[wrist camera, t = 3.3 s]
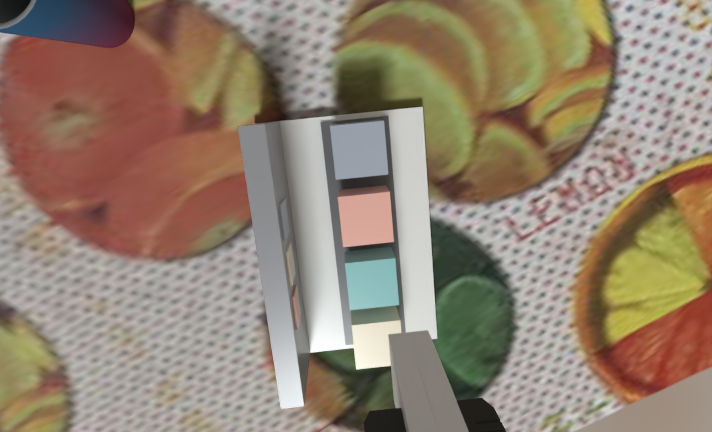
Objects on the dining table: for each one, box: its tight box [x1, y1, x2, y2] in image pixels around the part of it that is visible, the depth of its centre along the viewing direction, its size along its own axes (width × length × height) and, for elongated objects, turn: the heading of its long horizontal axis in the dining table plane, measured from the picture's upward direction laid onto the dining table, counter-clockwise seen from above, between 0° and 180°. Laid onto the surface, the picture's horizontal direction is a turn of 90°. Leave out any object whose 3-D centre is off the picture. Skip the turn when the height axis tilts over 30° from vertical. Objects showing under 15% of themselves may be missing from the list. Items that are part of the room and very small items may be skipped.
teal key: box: [344, 247, 399, 310], centre depth 43 cm, size 4×4×4 cm
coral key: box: [338, 185, 394, 247], centre depth 42 cm, size 4×4×4 cm
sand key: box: [351, 305, 401, 369], centre depth 44 cm, size 4×4×4 cm
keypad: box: [238, 107, 437, 409], centre depth 42 cm, size 16×24×10 cm, turn 6°
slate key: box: [330, 120, 388, 180], centre depth 40 cm, size 4×4×4 cm
